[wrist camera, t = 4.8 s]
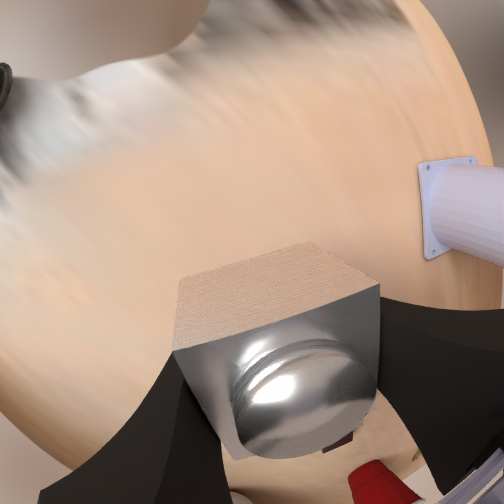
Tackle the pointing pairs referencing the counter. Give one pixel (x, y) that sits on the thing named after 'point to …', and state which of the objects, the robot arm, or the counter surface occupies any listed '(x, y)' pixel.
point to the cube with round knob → (280, 350)
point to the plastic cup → (380, 486)
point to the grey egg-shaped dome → (239, 498)
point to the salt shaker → (4, 82)
